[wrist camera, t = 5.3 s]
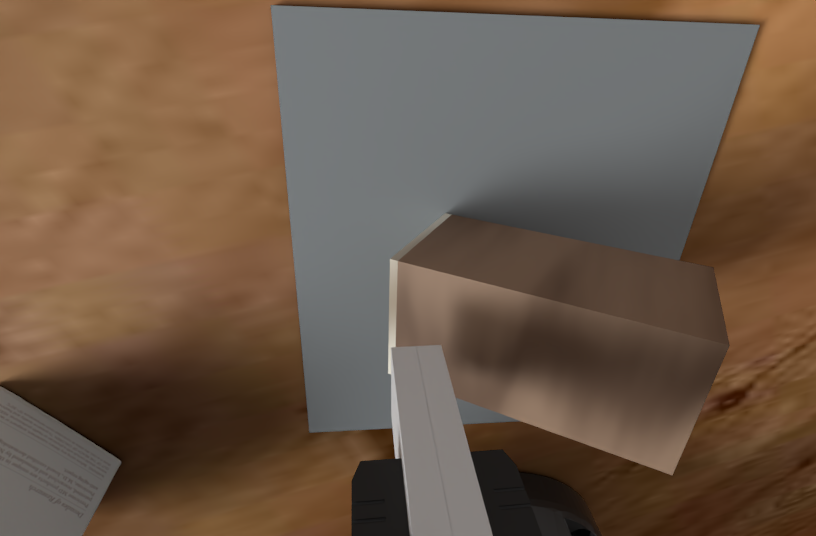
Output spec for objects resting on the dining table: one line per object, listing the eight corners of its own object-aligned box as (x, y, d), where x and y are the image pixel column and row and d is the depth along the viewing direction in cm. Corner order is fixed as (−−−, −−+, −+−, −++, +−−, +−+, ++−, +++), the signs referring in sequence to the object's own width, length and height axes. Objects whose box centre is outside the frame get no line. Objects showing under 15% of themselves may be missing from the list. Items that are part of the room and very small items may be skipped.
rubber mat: (622, 410, 27) (626, 415, 27) (310, 426, 25) (309, 432, 25) (751, 24, 18) (759, 24, 18) (272, 5, 16) (270, 5, 16)
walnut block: (437, 311, 22) (670, 379, 18) (388, 373, 18) (672, 475, 14) (445, 213, 20) (713, 267, 16) (389, 258, 16) (729, 344, 12)
